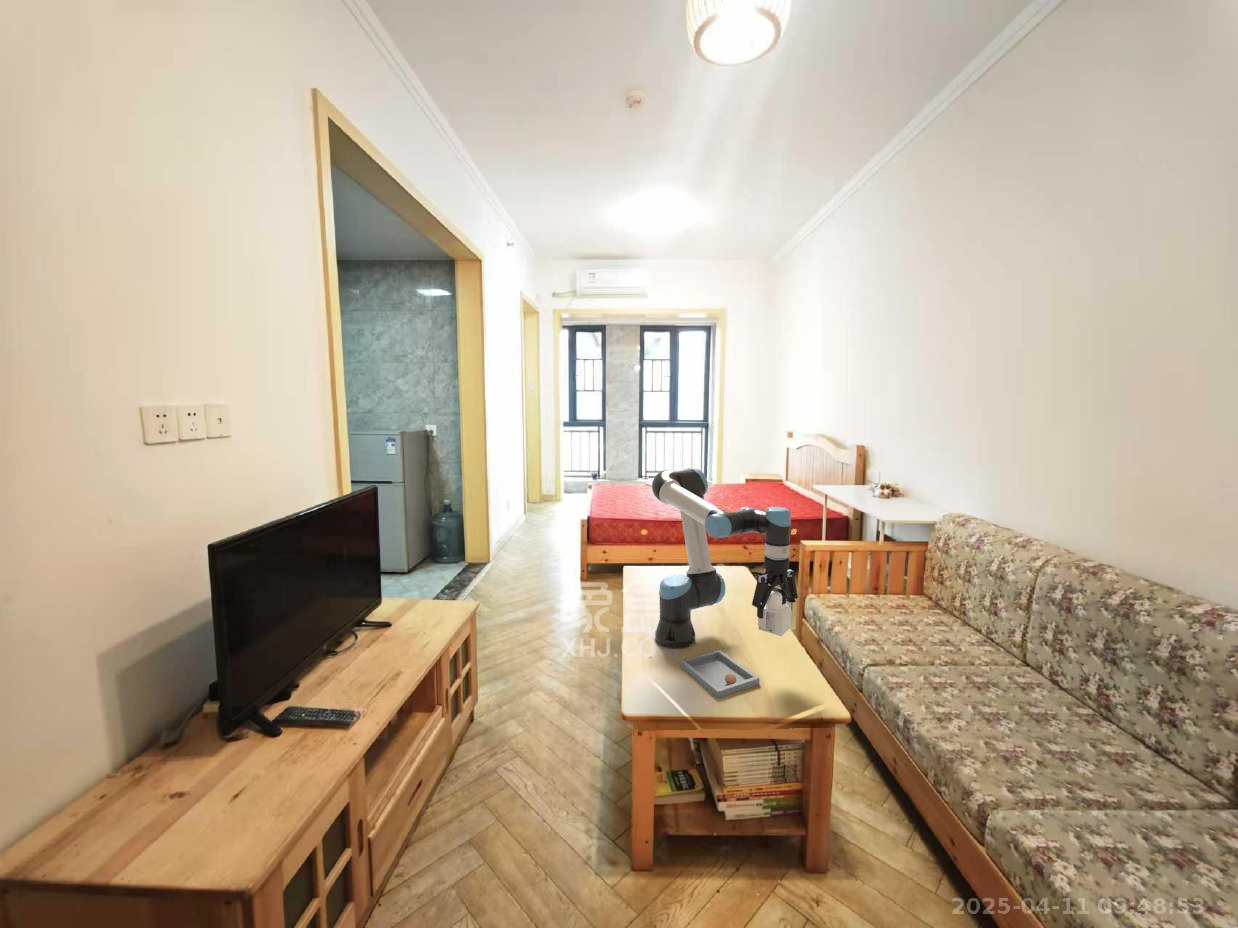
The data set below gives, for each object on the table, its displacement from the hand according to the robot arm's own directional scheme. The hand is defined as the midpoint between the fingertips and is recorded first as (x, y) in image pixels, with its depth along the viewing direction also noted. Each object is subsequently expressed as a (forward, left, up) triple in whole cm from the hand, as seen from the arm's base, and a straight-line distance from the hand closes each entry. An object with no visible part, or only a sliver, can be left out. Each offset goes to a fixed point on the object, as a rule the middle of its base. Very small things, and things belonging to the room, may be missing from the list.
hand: (774, 623), depth 153 cm
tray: (-7, -17, -17) cm, 25 cm away
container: (0, 0, -2) cm, 2 cm away
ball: (-1, -17, -16) cm, 24 cm away
